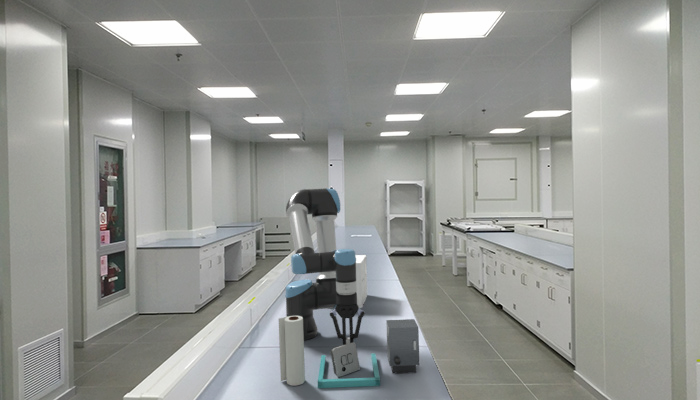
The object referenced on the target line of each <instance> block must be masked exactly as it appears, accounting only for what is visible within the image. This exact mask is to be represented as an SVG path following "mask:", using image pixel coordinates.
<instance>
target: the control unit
mask: <svg viewBox="0 0 700 400" xmlns="http://www.w3.org/2000/svg"><path fill="white" fill-rule="evenodd" d="M385 321H386V348H387V349H386V353H387V360H388V363H389V367H390V369H391V371H392V374H410V373H411V374H413V373H414V374H415V373H417V366H420V337H419V334H420V333H419V330H420V329H419V325H418V323H417V322H416V320H415V319H414V318H411V319H410V318H409V319H408V318H405V319H386V320H385Z"/></svg>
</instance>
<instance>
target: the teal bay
mask: <svg viewBox="0 0 700 400" xmlns="http://www.w3.org/2000/svg"><path fill="white" fill-rule="evenodd" d="M370 357H371V358H370V359H371V365H372V373H373V377H355V378H354V377H353V378H351V377H350V378H325V377H324V376H325V372H326V371H325V370H326V369H325V368H326V360H327V359H326V358H327V356H326V354H321V357H320V363H319V370H318V376H317V389H327V388H329V389H331V388H351V387H352V388H354V387H357V388H358V387H379V386H381V378H380V372H379V366H378V362H377V355H376V352H375V353H373V352H372V353H370Z"/></svg>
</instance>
